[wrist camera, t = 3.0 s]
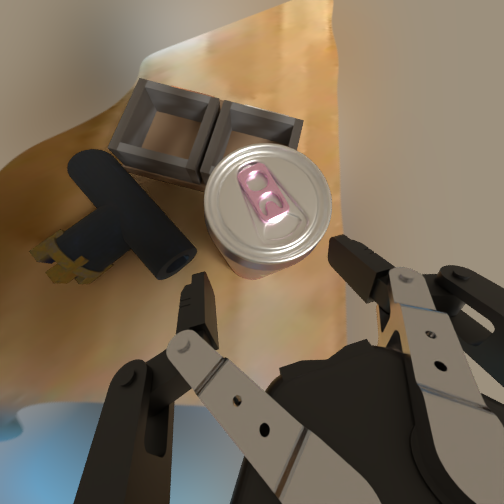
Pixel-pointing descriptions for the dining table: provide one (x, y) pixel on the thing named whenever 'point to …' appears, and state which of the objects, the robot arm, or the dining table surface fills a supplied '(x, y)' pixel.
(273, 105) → the dining table surface
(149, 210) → the pipe connector
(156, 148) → the socket board
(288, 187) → the beverage can
